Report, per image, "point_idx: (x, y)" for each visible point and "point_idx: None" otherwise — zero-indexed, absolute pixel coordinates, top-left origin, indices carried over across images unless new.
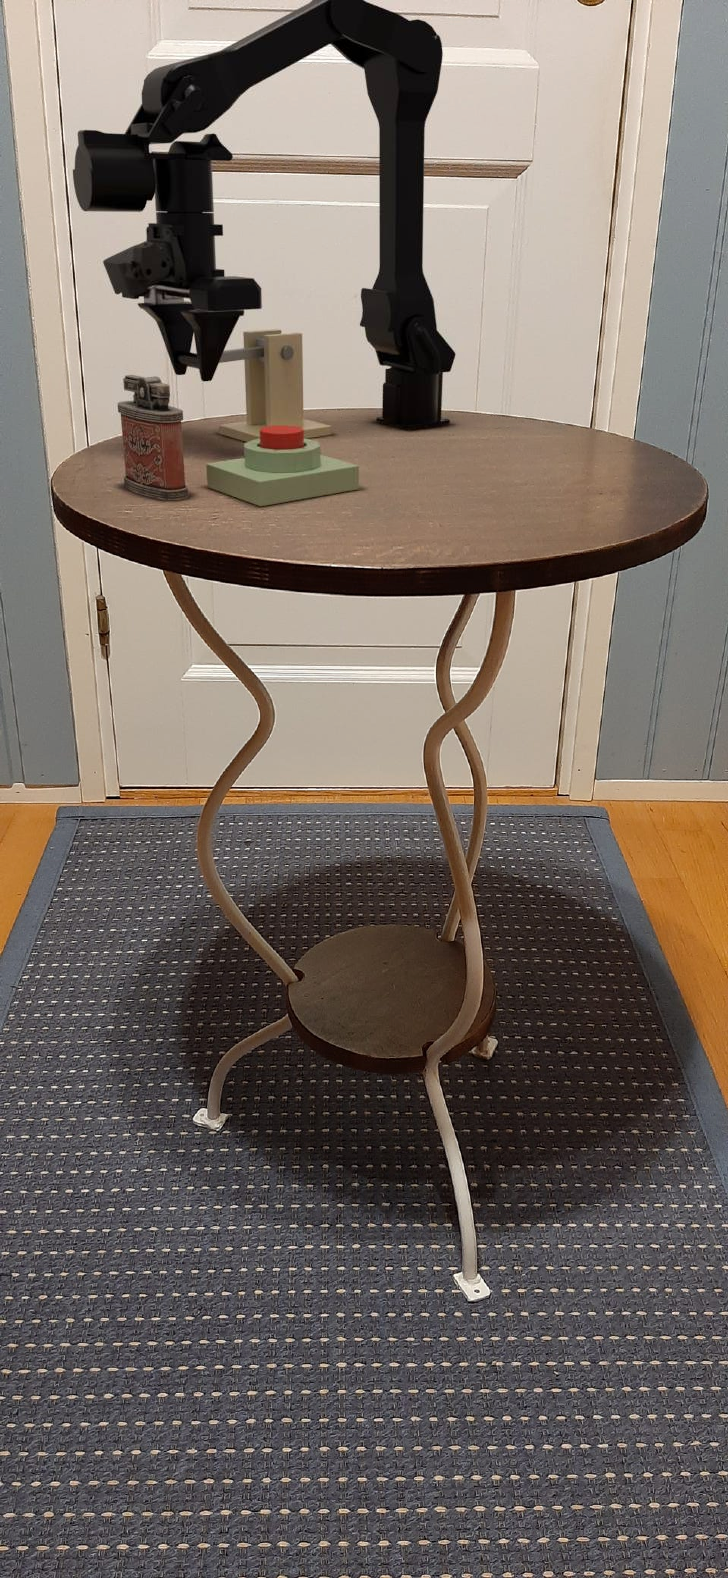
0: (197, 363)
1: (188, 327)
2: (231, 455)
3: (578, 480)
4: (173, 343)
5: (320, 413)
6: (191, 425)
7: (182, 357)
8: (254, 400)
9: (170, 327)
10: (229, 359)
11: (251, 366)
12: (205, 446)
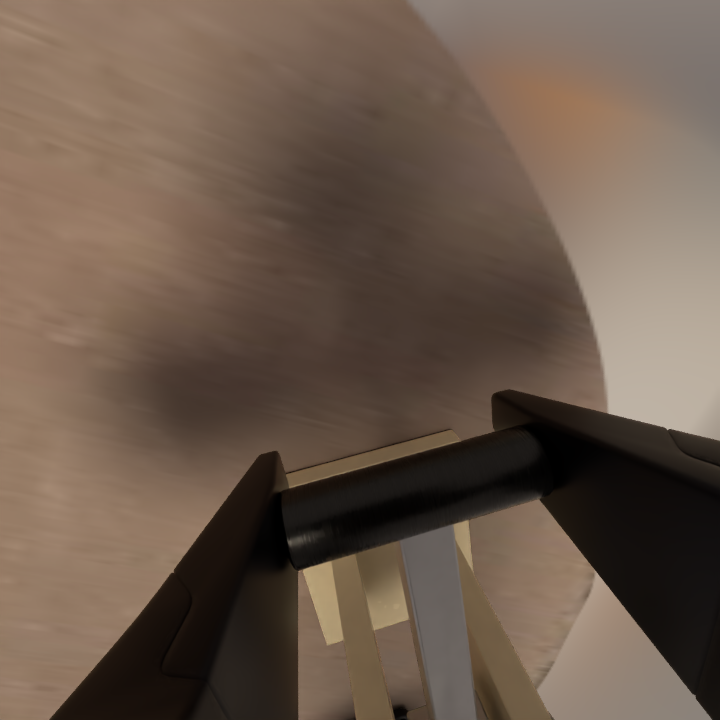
0: (309, 489)
1: (675, 633)
2: (173, 388)
3: None
4: (598, 468)
5: (536, 641)
6: (579, 396)
7: (476, 455)
8: None
9: (709, 532)
10: (411, 628)
11: (478, 654)
12: (320, 358)
